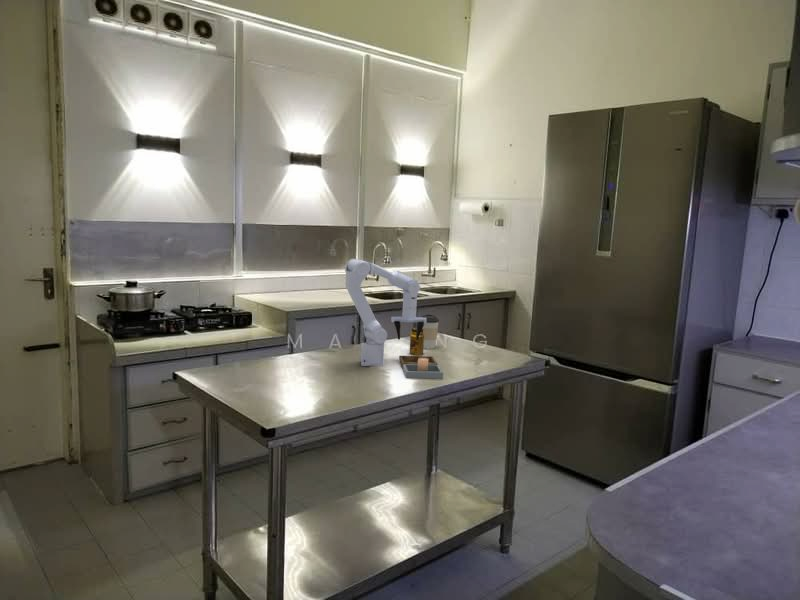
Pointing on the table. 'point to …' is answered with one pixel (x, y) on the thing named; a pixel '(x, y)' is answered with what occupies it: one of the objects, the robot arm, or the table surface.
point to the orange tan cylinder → (422, 365)
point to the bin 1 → (415, 360)
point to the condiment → (416, 343)
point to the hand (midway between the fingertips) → (407, 339)
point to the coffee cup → (430, 331)
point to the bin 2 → (432, 373)
